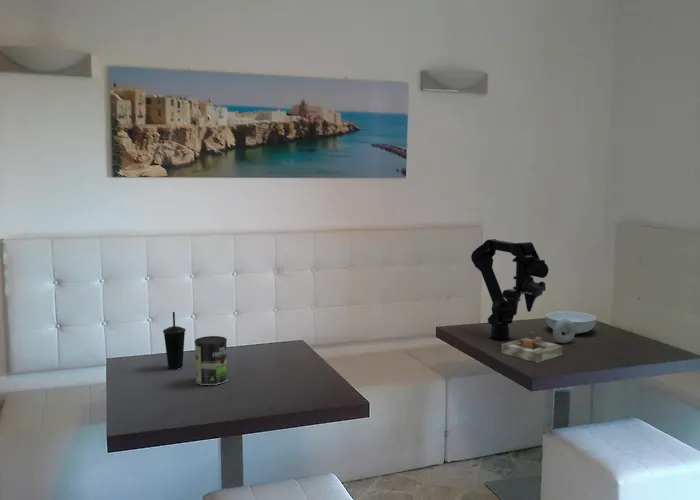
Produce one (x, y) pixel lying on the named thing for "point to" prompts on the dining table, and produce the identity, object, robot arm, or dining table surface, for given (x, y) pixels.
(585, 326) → the serving bowl
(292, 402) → the dining table surface
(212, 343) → the coffee can
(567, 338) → the donut
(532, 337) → the brown u-shaped block
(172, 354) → the drinking cup
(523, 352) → the grey square tray
